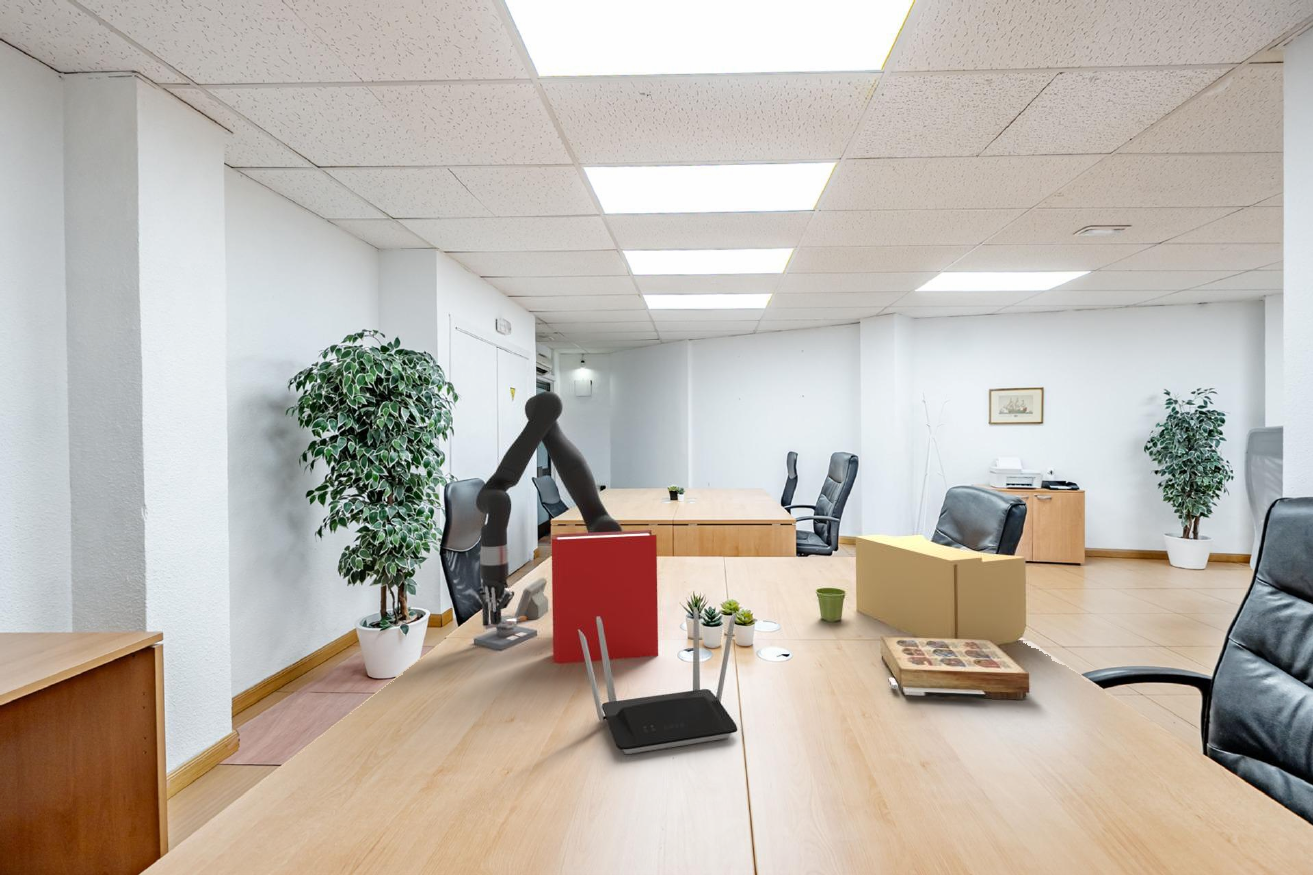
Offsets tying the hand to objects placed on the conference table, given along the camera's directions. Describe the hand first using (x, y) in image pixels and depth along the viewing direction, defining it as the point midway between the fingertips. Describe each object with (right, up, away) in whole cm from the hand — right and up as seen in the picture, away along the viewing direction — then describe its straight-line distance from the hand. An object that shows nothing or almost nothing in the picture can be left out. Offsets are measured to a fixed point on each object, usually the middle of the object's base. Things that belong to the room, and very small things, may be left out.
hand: (495, 623), depth 166 cm
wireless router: (+46, -7, -44) cm, 64 cm away
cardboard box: (+129, -5, +15) cm, 130 cm away
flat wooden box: (+112, -6, -26) cm, 115 cm away
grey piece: (+1, -3, +7) cm, 7 cm away
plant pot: (+99, -5, +21) cm, 102 cm away
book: (+31, -7, -6) cm, 32 cm away
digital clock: (+4, -7, +31) cm, 32 cm away
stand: (+1, -7, +7) cm, 10 cm away
